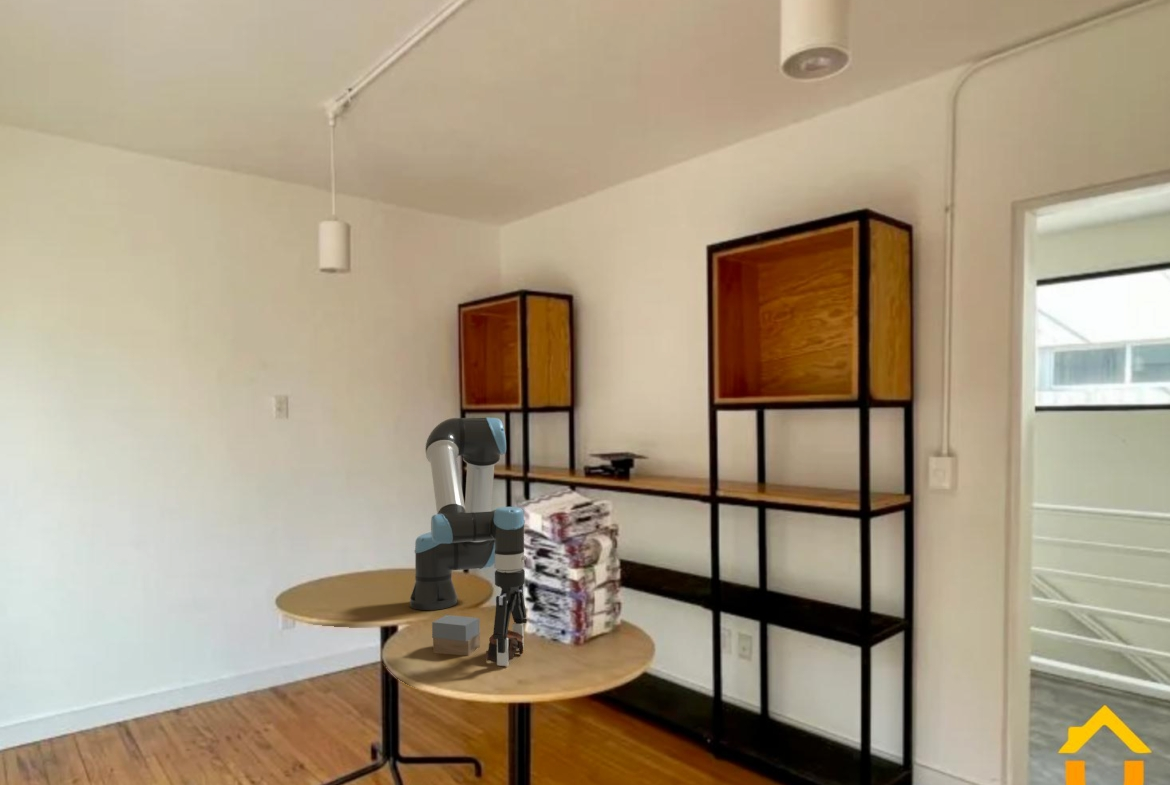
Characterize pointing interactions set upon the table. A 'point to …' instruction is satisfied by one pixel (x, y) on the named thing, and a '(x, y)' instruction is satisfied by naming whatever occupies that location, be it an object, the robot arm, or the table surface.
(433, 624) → the blue-grey block
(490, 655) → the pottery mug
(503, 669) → the table surface
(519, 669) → the table surface
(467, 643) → the walnut block
